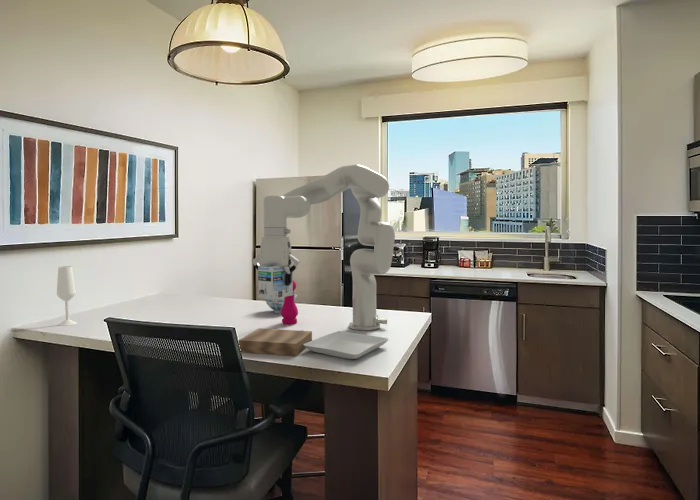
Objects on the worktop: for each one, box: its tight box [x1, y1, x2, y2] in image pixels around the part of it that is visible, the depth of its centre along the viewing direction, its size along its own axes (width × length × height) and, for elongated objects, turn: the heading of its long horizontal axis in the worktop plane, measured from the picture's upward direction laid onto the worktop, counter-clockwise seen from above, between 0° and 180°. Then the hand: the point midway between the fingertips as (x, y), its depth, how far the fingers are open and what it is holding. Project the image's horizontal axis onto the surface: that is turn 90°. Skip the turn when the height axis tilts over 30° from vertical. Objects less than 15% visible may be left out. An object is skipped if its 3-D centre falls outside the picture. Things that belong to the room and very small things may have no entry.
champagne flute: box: [56, 265, 78, 327], centre depth 182 cm, size 7×7×24 cm
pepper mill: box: [280, 279, 299, 326], centre depth 183 cm, size 7×7×20 cm
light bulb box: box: [257, 263, 294, 299], centre depth 147 cm, size 11×7×11 cm, turn 149°
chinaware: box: [264, 293, 298, 314], centre depth 206 cm, size 15×15×8 cm
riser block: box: [238, 327, 313, 357], centre depth 149 cm, size 20×16×4 cm
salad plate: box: [303, 330, 389, 360], centre depth 146 cm, size 21×21×3 cm
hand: (275, 284), depth 147 cm, fingers closed on light bulb box, 8 cm apart
